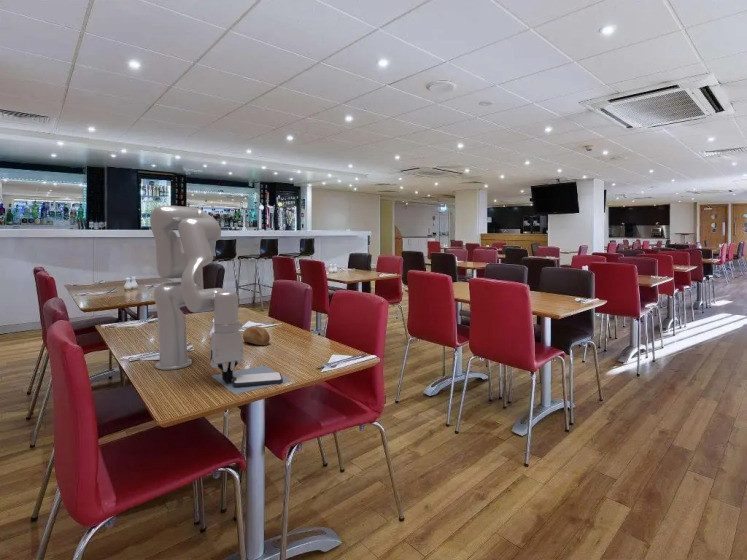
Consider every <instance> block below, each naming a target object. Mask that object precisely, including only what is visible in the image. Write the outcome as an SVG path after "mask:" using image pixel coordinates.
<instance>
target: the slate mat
mask: <svg viewBox="0 0 747 560" xmlns="http://www.w3.org/2000/svg"><path fill="white" fill-rule="evenodd" d="M274 372H276V371H275V370H274V369H272V368H270V367H268V366H266V365H260V366H254V367H250V368H245V369H244V368H243V369H238V370H233V376H235V375H246V374H260V373H274ZM281 376H282V379H283V382H282V383H283V384H286V382H287V383H290V381H291V382H292V380H291V379H290V378H287V377H286V376H284V375H282V374H281ZM211 377H212V378H213V379H214V380H215V381H217V383H219V384H221V386H223V387H224V388H226V390H228V391H229V392H231V393H232V394H233V395H238V394H243V393H248V392H252V391H256V389H257V390H261V389H264V388H270V387H273V386H277V385H278V386H279V385H282V383H280V384H268V385H255V386H243V387H234V386H233V379H232V382H231V383H230V382H229V383H226V382H224V381H223V379H222V373H220V374H214V375H211Z"/></svg>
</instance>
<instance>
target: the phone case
mask: <svg viewBox="0 0 747 560" xmlns="http://www.w3.org/2000/svg"><path fill="white" fill-rule="evenodd" d="M281 375H282V374H281V372H278V371H277V372H276V371H275V372H274V373H260V374H246V375H235V376H233V386H234V387H243V386H255V385H268V384H278V385H281V384H280V383H282V382H283V379H282V376H283V375H282V376H281Z"/></svg>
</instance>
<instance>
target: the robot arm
mask: <svg viewBox="0 0 747 560" xmlns="http://www.w3.org/2000/svg"><path fill="white" fill-rule="evenodd" d="M149 221H150V222H149V223H150V229H151V232H152V235H153V238H154V242H155V243H154V244H155V257H156V259H155V260H156V271H157V274H158V276H159V277H160V278H162V279H166V280H168V279H169V280H171V279H173V280H174V279H180V281H172V282H165V283H161V284H159V285H157V286H156V287H155V289H154V290H153V300H154V303H155V306H156V307H155V308H156V311H157V313H156V314H157V326H158V327H157V331H158V350H159V351H158V354H159V360H158V361H156V362H155V364H154V365H155V366H154V367H155V368H156V369H158V370H163V371H167V370H169V371H170V370H179V369H183V368H186V367H189V366H191V365H192V363H193V360H192V359H191V358H189V357H188V344H187V343H188V340H187V339H188V338H187V335H188V334H187V319H186V316H185V314H184V312H183V311H182V310H181V309H180V308H182V307H186V308H187V310H189V312H191V313H194V314H197V313H198V314H199V313H205V312H207V313H208V312H213V324H214V325H213V328H214V332H212V333H211V334H210V335H211V336H210V343H209V361H210V367H211V368H214V369H217V368H218V369H220V370H221V374H222V379H223V381H224V382H226V383H229V382H230V383H231V382H232V379H233V371H235V368H236V366H238V364H241V363H244V344H243V336H242V333H241V330H240V328H242V327H243V323H242V322H240V321H239V301H238V299H239V297H238V293H237V292H236V291H235V290H227V289H225V288H222V287H214V288H204V275H203V273H204V272H203V271H204V270H203V268H204V267H206V266H207V265H209V264H211V263H212V262H213V260H214V255H213V252H212V249H211V246H210V245H211V244H210V243H209V242H211V243H212V242H217V241H218V240H220V238H221V235H222V230H221V226H220V224H219V222H218V221H217V220H216V219H215V218H214V217H213V216H211V215H210V214H208V213H207V212H206V211H204V210H203V209H201V208H198V207H193V206H181V205H179V206H178V205H159V206H156V207H155V208H154V209H153V210H152V211H151V214H150V219H149ZM174 230H177V231H178V234H177V233H176V232H175V231H174ZM178 235H179V236H178ZM182 249H183V251H184V252H182ZM227 363H228V364H227Z"/></svg>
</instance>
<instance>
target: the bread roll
mask: <svg viewBox="0 0 747 560" xmlns="http://www.w3.org/2000/svg"><path fill="white" fill-rule="evenodd" d="M270 339H271V338H270V334H269V333H268V331H267V330H266V329H265V328H264V327H262V326H258V325H257V326H254V325H253V326H249V327H247V328H245V329H244V331H243V334H242V340H243V341H244V342H245V343H249V344H254V345H258V346H266V345H268V344H269V342H270Z"/></svg>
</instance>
